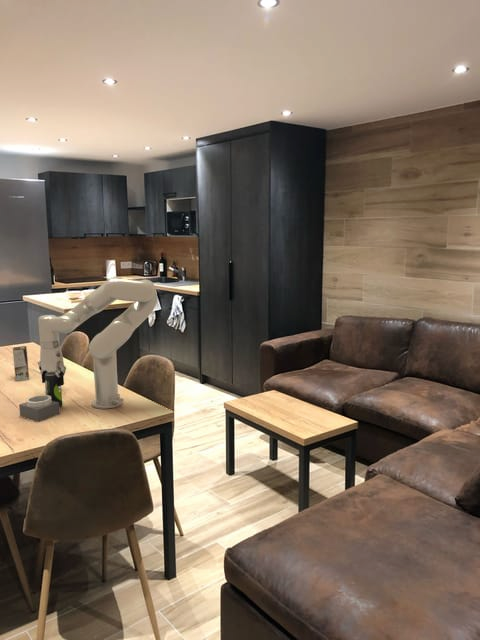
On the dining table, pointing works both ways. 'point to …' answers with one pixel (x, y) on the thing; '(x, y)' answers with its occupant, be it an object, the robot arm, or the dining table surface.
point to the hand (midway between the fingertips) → (53, 383)
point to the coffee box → (21, 363)
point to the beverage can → (53, 387)
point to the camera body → (39, 408)
